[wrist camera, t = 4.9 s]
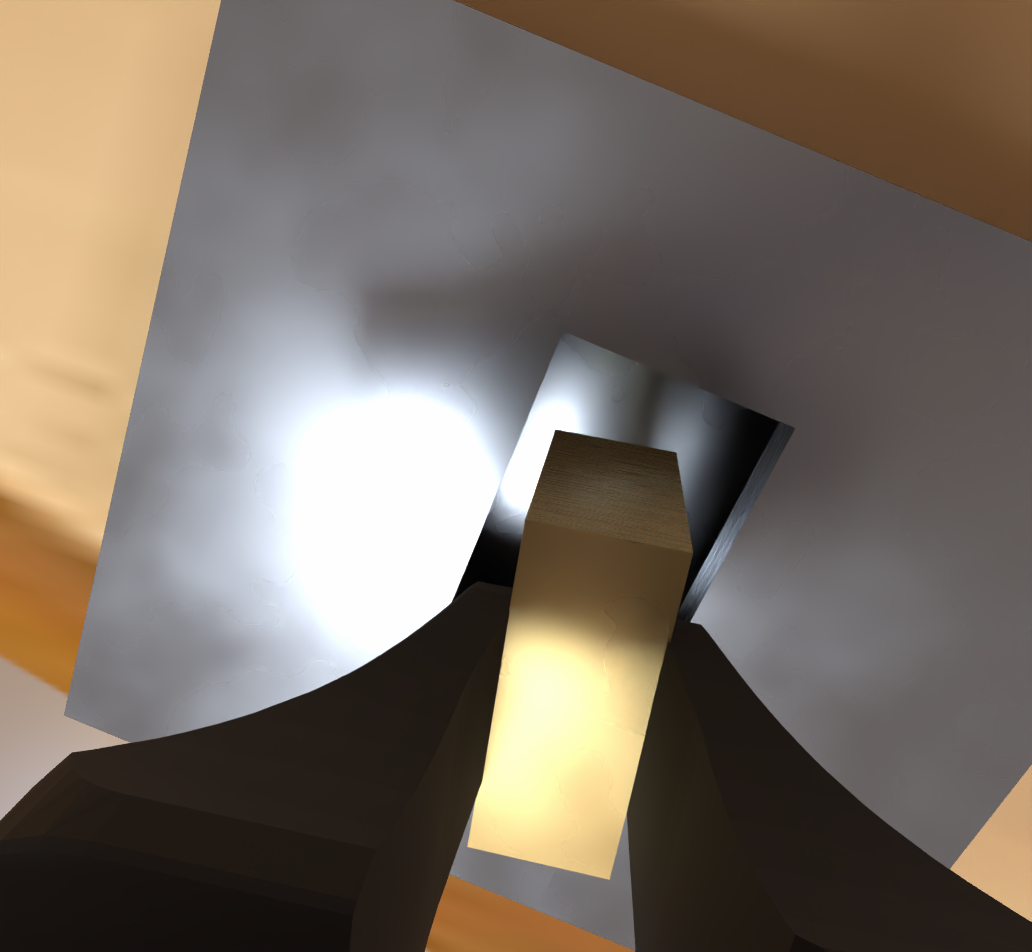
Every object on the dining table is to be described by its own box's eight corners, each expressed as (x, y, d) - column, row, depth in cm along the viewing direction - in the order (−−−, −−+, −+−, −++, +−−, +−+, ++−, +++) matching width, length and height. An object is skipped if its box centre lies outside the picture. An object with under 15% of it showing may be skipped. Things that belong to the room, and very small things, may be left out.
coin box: (1112, 311, 17) (1340, 370, 12) (776, 820, 23) (824, 1028, 17) (367, 0, 17) (240, -89, 12) (204, 584, 23) (63, 715, 17)
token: (676, 452, 13) (693, 553, 10) (615, 709, 15) (610, 879, 11) (555, 428, 14) (525, 519, 10) (507, 686, 15) (467, 846, 11)
